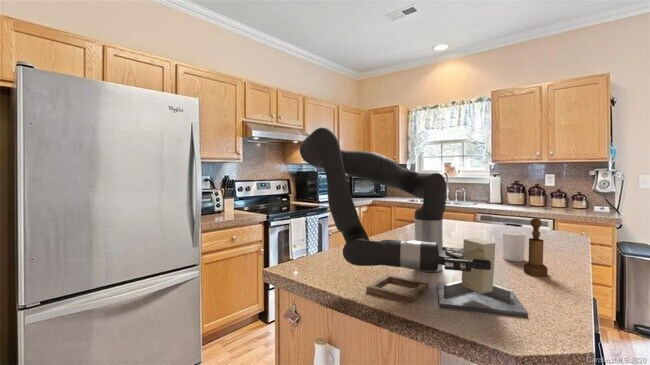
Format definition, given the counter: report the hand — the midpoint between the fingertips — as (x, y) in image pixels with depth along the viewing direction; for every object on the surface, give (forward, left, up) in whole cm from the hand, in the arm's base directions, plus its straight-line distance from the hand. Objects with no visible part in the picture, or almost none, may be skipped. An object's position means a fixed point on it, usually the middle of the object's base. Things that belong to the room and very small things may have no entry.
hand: (487, 260), depth 79 cm
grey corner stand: (-2, -3, -11) cm, 12 cm away
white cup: (-51, 0, -11) cm, 53 cm away
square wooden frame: (+4, -22, -11) cm, 25 cm away
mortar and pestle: (-36, +8, -11) cm, 39 cm away
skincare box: (+1, -2, -7) cm, 8 cm away
